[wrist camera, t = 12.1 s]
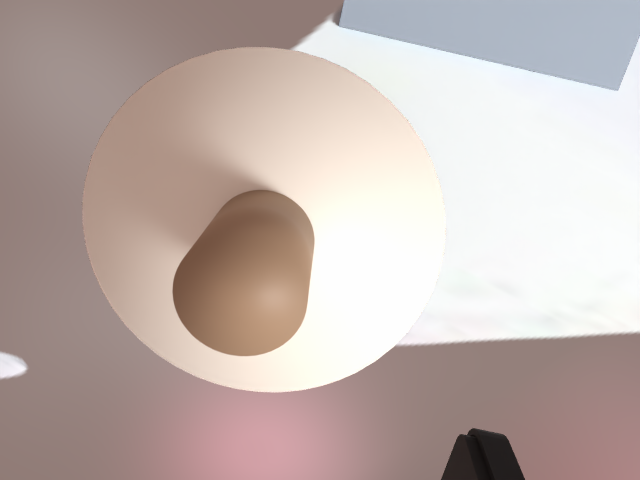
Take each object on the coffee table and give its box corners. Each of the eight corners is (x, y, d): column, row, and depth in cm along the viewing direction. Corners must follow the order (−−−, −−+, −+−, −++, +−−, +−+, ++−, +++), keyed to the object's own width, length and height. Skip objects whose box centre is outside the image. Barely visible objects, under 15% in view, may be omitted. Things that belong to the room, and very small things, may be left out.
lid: (487, 93, 19) (552, 109, 13) (391, 404, 23) (408, 515, 18) (104, 8, 18) (-1, -13, 12) (85, 345, 23) (3, 440, 17)
